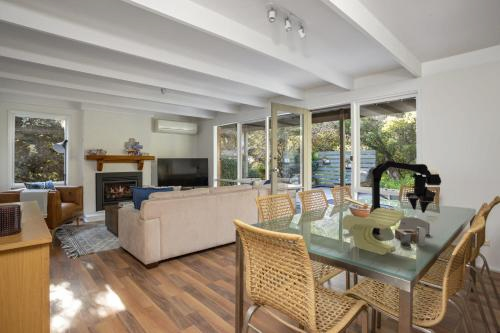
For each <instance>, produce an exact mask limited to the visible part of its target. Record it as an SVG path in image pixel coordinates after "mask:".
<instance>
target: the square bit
mask: <svg viewBox="0 0 500 333" xmlns="http://www.w3.org/2000/svg"><path fill="white" fill-rule="evenodd" d="M415 244H416V245H417V246H420V247H421V246H423V247H425V246H426V236H425V228H423V227H416V242H415Z"/></svg>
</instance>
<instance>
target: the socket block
mask: <svg viewBox="0 0 500 333" xmlns="http://www.w3.org/2000/svg"><path fill="white" fill-rule="evenodd" d="M402 232H405V233H410V234H411V243H412V242H415V243H416V231H415V230H409V229H398V228H395V229H394V237H395V238H397V239H399V240H401V233H402Z"/></svg>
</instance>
